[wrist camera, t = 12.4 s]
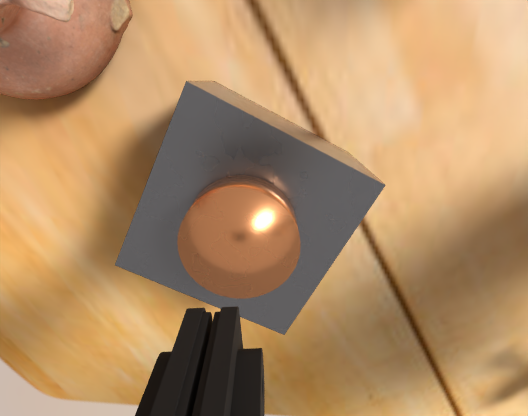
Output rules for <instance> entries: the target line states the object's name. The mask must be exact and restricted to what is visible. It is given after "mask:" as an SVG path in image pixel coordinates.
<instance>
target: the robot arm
mask: <svg viewBox="0 0 528 416" xmlns="http://www.w3.org/2000/svg"><path fill="white" fill-rule="evenodd" d="M135 416H264V365H263V352H262V348H256V349H243V343H242V334H241V324H240V314H239V307H238V306H236V307H222V308H221V311H220V312H215V314H214V319H213V321H212V314H211V312H206V310H205V308H188V309H187V310H186V313H185V315H184V318H183V321H182V324H181V327H180V330H179V333H178V336H177V338H176V341H175V344H174V347H173V350H172V352H161V353H160V354H159V356H158V358H157V361H156V363H155V366H154V369H153V371H152V374H151V376H150V379H149V381H148V384H147V386H146V389H145V392H144V394H143V397H142V399H141V402H140V404H139V407H138V409H137V412H136V415H135Z"/></svg>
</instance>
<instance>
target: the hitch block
mask: <svg viewBox="0 0 528 416" xmlns="http://www.w3.org/2000/svg"><path fill="white" fill-rule="evenodd" d="M236 175H246V176H253V177H257V178H260V179H263V180H265V181H268V182H269V183H271V184H273V185H274V186H276V187H277V188H278V189H279V190H280V191H281V192H282V193H283V194H284V195H285V196H286V197H287V199H288V200H289V202H290V203H291V205H292V207H293V210H294V212H295V217H296V221H297V226H298V231H299V236H300V245H301V246H300V255H299V260H298V262H297V265H296V267H295V269H294V271H293V272H292V274H291V275H290V277H289V278H288V279H287V280H286V281H285V282H284V283H283V284H282V285H280V286H279V287H278V288H276V289H275V290H273V291H271V292H269V293H267V294H264V295H261V296H258V297H253V298H245V299H239V298H229V297H224V296H221V295H218V294H215V293H213V292H211V291H209V290H207V289H205V288H204V287H202V286H201V285H199V284H198V283H197V282H196V281H195V280H194V279H193V278H192V277H191V276H190V275H189V274H188V272H187V271H186V269H185V268H184V266H183V264H182V262H181V259H180V256H179V252H178V245H177V240H178V232H179V228H180V225H181V222H182V220H183V219H184V217H185V215H186V213H187V212H188V210H189V209H190V207H191V205H192V204H193V202H194V200H195V199H196V197H197V196H198V195H199V193H200V192H201V191H202V190H203V189H204V188H206V187H207V186H208V185H210V184H211V183H213V182H215V181H217V180H219V179H222V178H225V177H229V176H236ZM384 187H385V184H384V183H383V182H382V181H380V180H379V179H378V178H377V177H376V176H375V175H374V174H372V173H371V172H370V171H369V170H368V169H367V168H366V167H364V166H363V165H362V164H361V163H360V162H359V161H358V160H357V159H355V158H354V157H353V156H352V155H351V154H350V153H349V152H347V151H345V150H343V149H341V148H339V147H337V146H336V145H334V144H332V143H330V142H328V141H326V140H324V139H322V138H320V137H319V136H317V135H315V134H313V133H311V132H309V131H307V130H305V129H303V128H302V127H300V126H298V125H296V124H294V123H292V122H290V121H288V120H286V119H285V118H283V117H281V116H279V115H277V114H275V113H273V112H271V111H269V110H268V109H266V108H264V107H262V106H260V105H258V104H256V103H254V102H252V101H251V100H249V99H247V98H245V97H243V96H241V95H239V94H237V93H235V92H234V91H232V90H230V89H228V88H226V87H224V86H222V85H220V84H218V83H217V82H215V81H186V83H185V86H184V88H183V91H182V94H181V96H180V99H179V101H178V104H177V106H176V109H175V112H174V114H173V117H172V119H171V122H170V124H169V127H168V130H167V132H166V135H165V137H164V140H163V142H162V145H161V148H160V150H159V153H158V155H157V158H156V160H155V163H154V166H153V168H152V171H151V173H150V176H149V178H148V181H147V184H146V186H145V189H144V191H143V194H142V197H141V199H140V202H139V204H138V207H137V209H136V212H135V215H134V217H133V220H132V222H131V225H130V227H129V230H128V233H127V235H126V238H125V240H124V243H123V245H122V248H121V251H120V253H119V256H118V258H117V261H116V263H115V265H116V266H118V267H121V268H123V269H125V270H128V271H130V272H133V273H135V274H138V275H140V276H142V277H145V278H147V279H150V280H152V281H155V282H157V283H159V284H162V285H164V286H167V287H169V288H172V289H174V290H176V291H179V292H181V293H184V294H186V295H189V296H191V297H193V298H196V299H198V300H201V301H203V302H206V303H208V304H210V305H213V306H215V307H218V308H220V309H221V308H222V307H236V306H238V307H239V314H240V317H242V318H244V319H247V320H249V321H252V322H254V323H257V324H259V325H261V326H264V327H266V328H269V329H271V330H274V331H276V332H278V333H281V334H283V335H285V333H286V332H287V330H288V329H289V327H290V326H291V324H292V323H293V321H294V320H295V318H296V317H297V315H298V314H299V312H300V311H301V309H302V308H303V306H304V305H305V304H306V302H307V301H308V299H309V298H310V296H311V295H312V293H313V292H314V290H315V289H316V287H317V286H318V284H319V283H320V281H321V280H322V278H323V277H324V275H325V274H326V272H327V271H328V269H329V268H330V266H331V265H332V264H333V262H334V261H335V259H336V258H337V256H338V255H339V253H340V252H341V250H342V249H343V247H344V246H345V244H346V243H347V241H348V240H349V238H350V237H351V235H352V234H353V232H354V231H355V229H356V228H357V227H358V225H359V224H360V222H361V221H362V219H363V218H364V216H365V215H366V213H367V212H368V210H369V209H370V207H371V206H372V204H373V203H374V201H375V200H376V198H377V197H378V195H379V194H380V192H381V191H382V190H383V188H384Z"/></svg>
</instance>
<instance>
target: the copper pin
mask: <svg viewBox="0 0 528 416" xmlns="http://www.w3.org/2000/svg"><path fill="white" fill-rule="evenodd" d="M177 245H178V252H179V256H180V259H181V262H182V264H183V266H184V268H185V269H186V271H187V272H188V274H189V275H190V276H191V277H192V278H193V279H194V280H195V281H196V282H197V283H198V284H199V285H201V286H202V287H204V288H205V289H207V290H209V291H211V292H213V293H215V294H218V295H221V296H224V297H229V298H239V299H245V298H253V297H258V296H261V295H264V294H267V293H269V292H271V291H273V290H275V289H276V288H278V287H279V286H280V285H282V284H283V283H284V282H285V281H286V280H287V279H288V278H289V277H290V275H291V274H292V272H293V271H294V269H295V267H296V265H297V262H298V260H299V255H300V246H301V245H300V236H299V231H298V226H297V221H296V217H295V212H294V210H293V207H292V205H291V203H290V202H289V200H288V199H287V197H286V196H285V195H284V194H283V193H282V192H281V191H280V190H279V189H278V188H277V187H276V186H274V185H273V184H271V183H269V182H268V181H265V180H263V179H260V178H257V177H253V176H246V175H236V176H229V177H225V178H222V179H219V180H217V181H215V182H213V183H211V184H210V185H208V186H207V187H206V188H204V189H203V190H202V191H201V192H200V193H199V195H198V196H197V197H196V199H195V200H194V202H193V204H192V205H191V207H190V209H189V210H188V212H187V213H186V215H185V217H184V219H183V220H182V222H181V225H180V228H179V232H178V240H177Z"/></svg>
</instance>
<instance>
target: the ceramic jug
mask: <svg viewBox="0 0 528 416" xmlns="http://www.w3.org/2000/svg"><path fill="white" fill-rule="evenodd" d="M132 16H133V14H132V10H131V7H130V1H129V0H0V94H3V95H7V96H11V97H16V98H21V99H47V98H52V97H58V96H63V95H66V94H69V93H72V92H74V91H76V90H78V89H80V88H82V87H84V86H85V85H86V84H88V83H89V82H91V81H92V80H93V79H95V78H96V77H97V76H98V75H99V74H100V73H101V72H102V71H103V70H104V68H105V67H106V66H107V65H108V63H109V62H110V60H111V58H112V57H113V55H114V53H115V52H116V49H117V48H118V45H119V43H120V41H121V38H122V35H123V32H124V31H125V30H126V28H127V26H128V23H129V21H130V20H131V18H132Z"/></svg>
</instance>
